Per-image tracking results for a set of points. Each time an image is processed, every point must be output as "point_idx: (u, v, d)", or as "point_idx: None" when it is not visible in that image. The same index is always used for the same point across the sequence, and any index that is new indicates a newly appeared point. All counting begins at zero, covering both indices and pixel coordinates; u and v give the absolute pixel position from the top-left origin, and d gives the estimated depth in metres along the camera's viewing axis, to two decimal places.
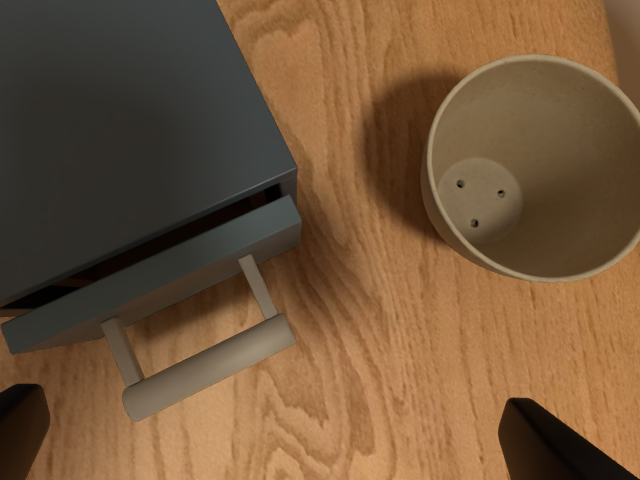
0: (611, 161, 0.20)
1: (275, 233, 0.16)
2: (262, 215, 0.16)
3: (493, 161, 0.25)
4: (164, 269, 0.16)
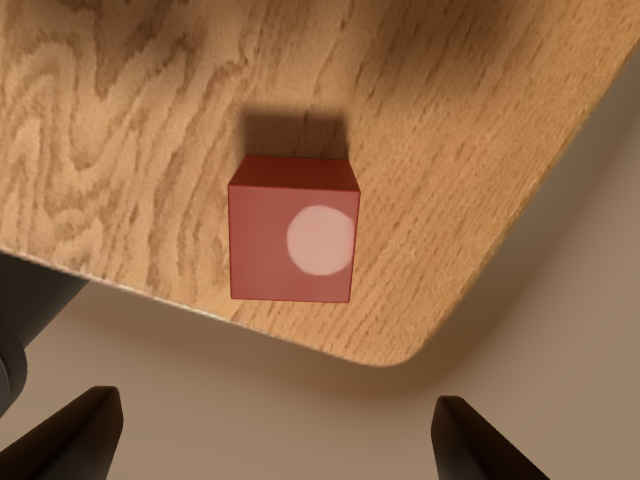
0: None
1: None
2: None
3: None
4: None
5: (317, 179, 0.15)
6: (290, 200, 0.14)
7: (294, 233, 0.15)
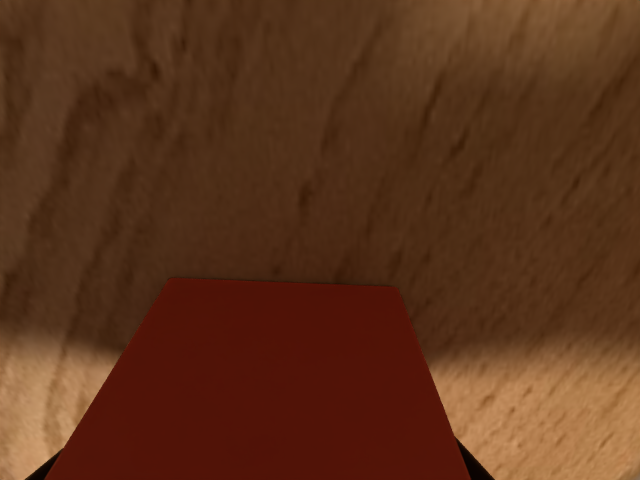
0: None
1: None
2: None
3: None
4: None
5: (335, 412, 0.05)
6: None
7: None
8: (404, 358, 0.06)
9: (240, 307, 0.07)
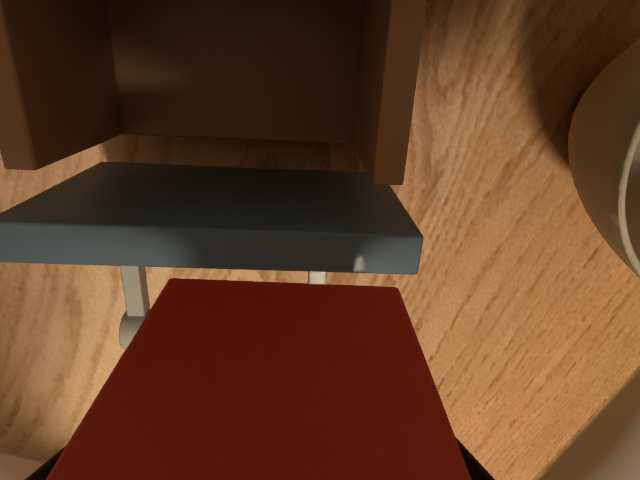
0: None
1: (376, 272, 0.12)
2: (374, 247, 0.11)
3: None
4: (220, 253, 0.11)
5: (336, 413, 0.05)
6: None
7: None
8: (404, 359, 0.06)
9: (240, 308, 0.07)
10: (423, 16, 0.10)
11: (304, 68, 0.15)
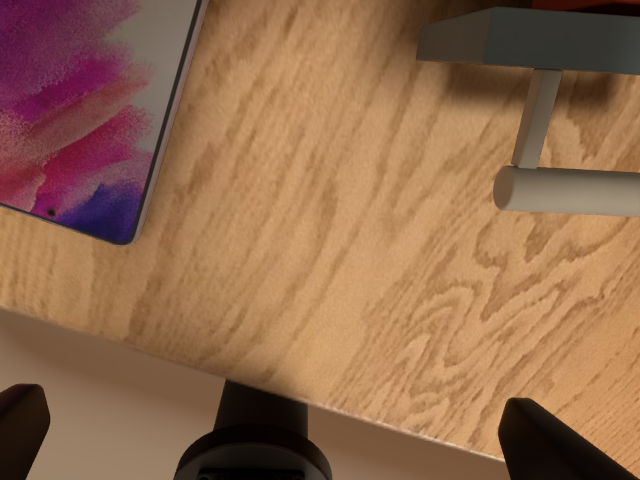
0: None
1: None
2: None
3: None
4: None
5: None
6: None
7: None
8: None
9: None
10: None
11: None
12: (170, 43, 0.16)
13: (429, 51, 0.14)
